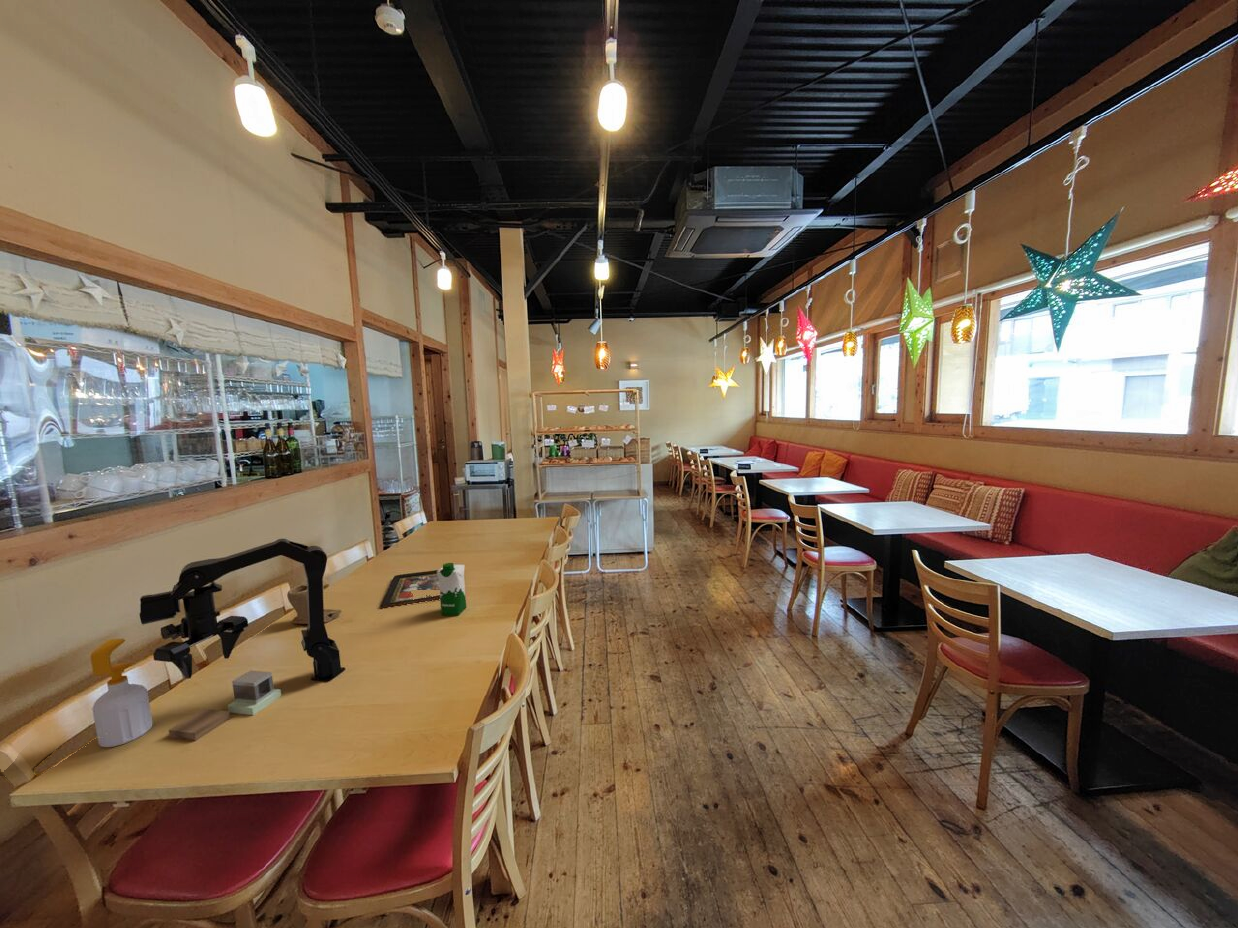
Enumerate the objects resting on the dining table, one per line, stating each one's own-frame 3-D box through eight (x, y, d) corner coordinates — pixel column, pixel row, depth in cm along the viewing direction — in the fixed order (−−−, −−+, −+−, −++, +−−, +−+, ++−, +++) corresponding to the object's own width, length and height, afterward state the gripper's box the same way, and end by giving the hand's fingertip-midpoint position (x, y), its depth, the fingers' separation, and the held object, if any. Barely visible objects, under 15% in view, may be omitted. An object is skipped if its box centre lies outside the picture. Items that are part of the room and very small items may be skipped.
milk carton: (438, 616, 172) (434, 566, 170) (449, 606, 181) (445, 558, 179) (459, 616, 171) (456, 566, 169) (469, 606, 180) (466, 558, 178)
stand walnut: (229, 718, 116) (228, 711, 116) (195, 740, 109) (194, 733, 108) (204, 715, 118) (203, 708, 118) (169, 737, 110) (168, 729, 110)
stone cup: (282, 628, 166) (277, 589, 164) (308, 613, 178) (304, 577, 176) (319, 629, 164) (314, 590, 162) (343, 615, 176) (339, 578, 174)
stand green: (281, 695, 125) (280, 689, 125) (253, 715, 117) (252, 708, 117) (257, 693, 127) (256, 686, 126) (228, 712, 119) (227, 705, 119)
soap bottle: (163, 721, 116) (148, 632, 113) (125, 747, 107) (109, 651, 104) (127, 723, 116) (112, 633, 113) (87, 749, 107) (69, 653, 104)
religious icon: (384, 581, 211) (384, 575, 211) (462, 569, 226) (462, 563, 226) (380, 614, 177) (379, 607, 177) (472, 597, 192) (471, 591, 192)
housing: (274, 692, 124) (271, 672, 123) (256, 704, 119) (253, 683, 118) (253, 690, 125) (250, 670, 124) (234, 701, 120) (232, 680, 119)
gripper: (213, 594, 126) (220, 647, 127) (130, 626, 107) (140, 686, 109) (246, 596, 124) (253, 649, 125) (167, 629, 105) (176, 690, 107)
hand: (208, 667), depth 117 cm, fingers open, 9 cm apart
